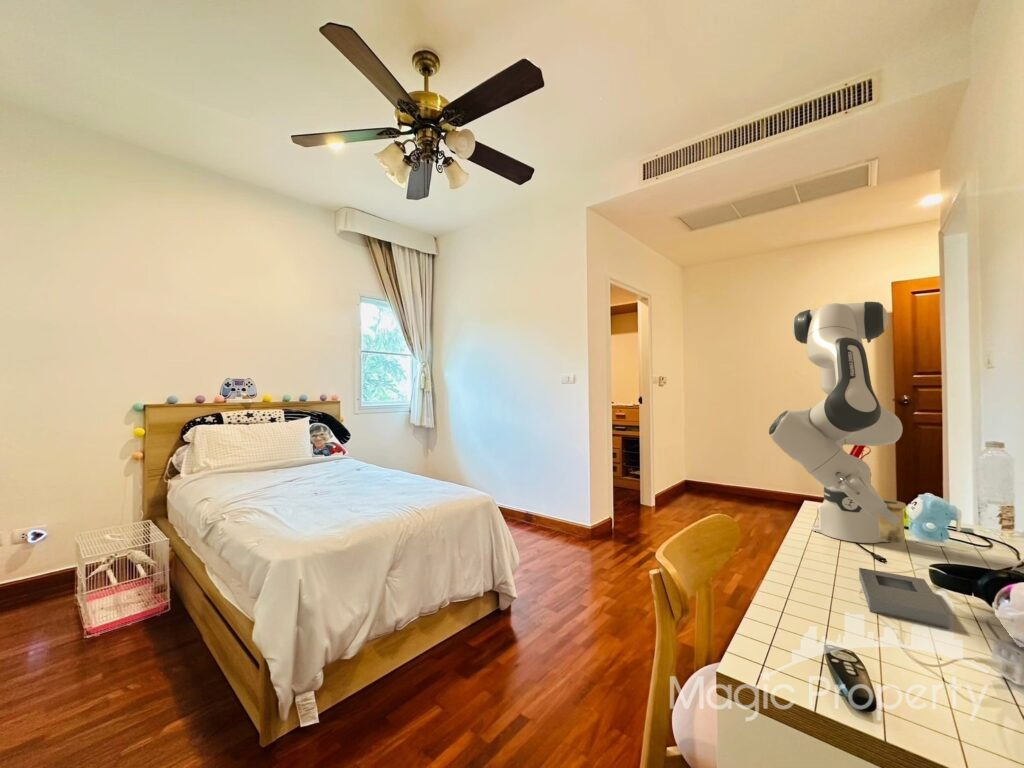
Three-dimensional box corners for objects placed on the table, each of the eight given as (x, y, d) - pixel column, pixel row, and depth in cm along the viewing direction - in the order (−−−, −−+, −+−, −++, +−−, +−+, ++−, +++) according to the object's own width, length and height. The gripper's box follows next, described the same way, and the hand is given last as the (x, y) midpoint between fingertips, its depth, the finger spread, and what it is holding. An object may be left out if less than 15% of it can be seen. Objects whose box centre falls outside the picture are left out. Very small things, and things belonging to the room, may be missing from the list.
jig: (859, 578, 96) (859, 567, 96) (924, 590, 90) (924, 579, 90) (869, 611, 82) (869, 598, 82) (948, 628, 75) (948, 615, 75)
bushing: (875, 534, 92) (874, 498, 92) (904, 538, 89) (903, 501, 90) (878, 540, 88) (877, 502, 89) (909, 544, 86) (907, 505, 86)
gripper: (852, 467, 85) (920, 523, 79) (844, 455, 102) (899, 500, 96) (826, 486, 87) (889, 542, 81) (822, 471, 104) (875, 516, 98)
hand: (894, 519), depth 89 cm, fingers closed on bushing, 4 cm apart
